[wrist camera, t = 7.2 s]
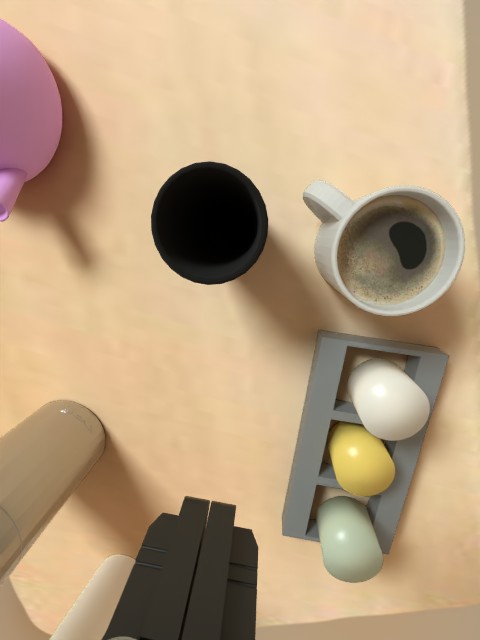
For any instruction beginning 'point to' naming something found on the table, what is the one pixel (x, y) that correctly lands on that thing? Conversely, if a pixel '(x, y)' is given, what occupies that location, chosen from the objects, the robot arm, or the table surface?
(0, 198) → the teapot
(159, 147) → the table surface
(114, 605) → the foam cup
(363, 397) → the offwhite button
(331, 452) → the mustard button
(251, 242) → the cup
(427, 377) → the grey compartment tray
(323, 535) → the sage button
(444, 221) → the mug
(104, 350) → the table surface
